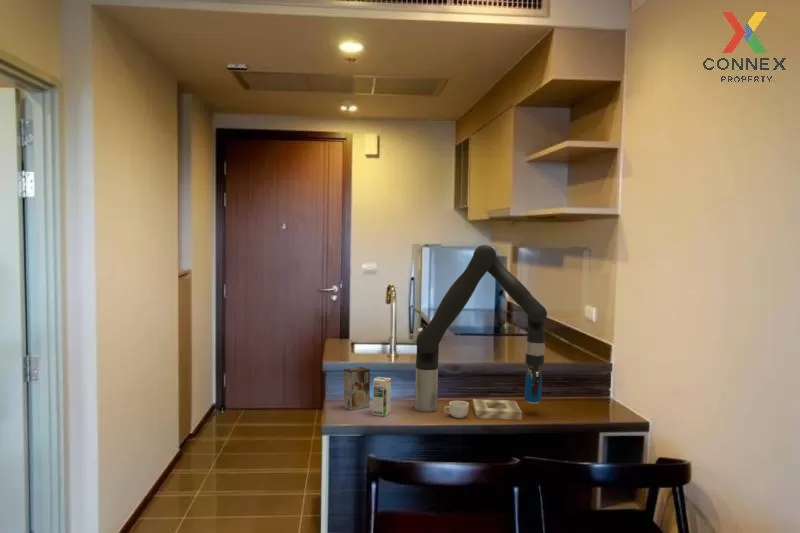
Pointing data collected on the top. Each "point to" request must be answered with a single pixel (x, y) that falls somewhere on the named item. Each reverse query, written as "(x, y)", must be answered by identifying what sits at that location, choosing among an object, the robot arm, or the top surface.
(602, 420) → the top surface
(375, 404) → the syrup box
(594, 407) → the top surface
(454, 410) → the teacup
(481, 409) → the holder plate
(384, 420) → the top surface
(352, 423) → the top surface
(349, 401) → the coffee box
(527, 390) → the beverage can
